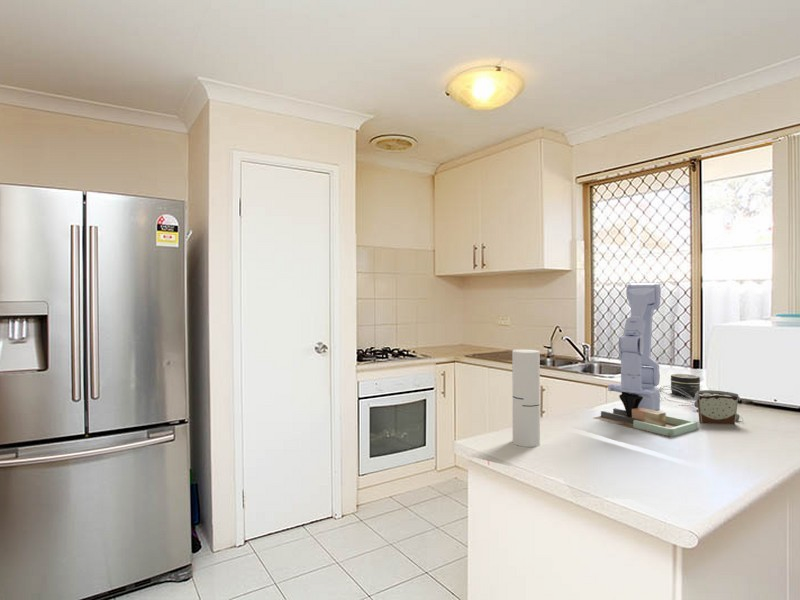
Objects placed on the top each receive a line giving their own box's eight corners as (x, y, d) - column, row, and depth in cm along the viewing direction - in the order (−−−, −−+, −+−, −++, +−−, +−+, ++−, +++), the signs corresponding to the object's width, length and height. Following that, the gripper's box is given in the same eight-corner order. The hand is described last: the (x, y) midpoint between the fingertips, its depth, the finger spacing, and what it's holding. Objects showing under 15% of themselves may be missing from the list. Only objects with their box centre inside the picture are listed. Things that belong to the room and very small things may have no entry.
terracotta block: (639, 420, 144) (639, 407, 144) (652, 423, 141) (652, 409, 141) (631, 421, 142) (631, 408, 142) (644, 424, 138) (644, 411, 138)
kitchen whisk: (735, 424, 144) (735, 403, 143) (653, 400, 176) (653, 384, 176) (751, 423, 145) (751, 402, 145) (666, 400, 178) (666, 383, 178)
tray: (659, 420, 144) (659, 413, 144) (697, 428, 134) (697, 422, 134) (633, 427, 136) (633, 420, 136) (671, 436, 127) (671, 429, 127)
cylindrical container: (519, 437, 131) (519, 348, 130) (544, 442, 126) (543, 350, 126) (508, 443, 125) (507, 351, 125) (533, 448, 121) (533, 353, 120)
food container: (727, 421, 145) (727, 390, 145) (740, 427, 139) (740, 394, 139) (686, 421, 146) (686, 389, 146) (696, 426, 140) (696, 393, 140)
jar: (705, 395, 183) (705, 376, 183) (691, 398, 178) (691, 378, 178) (679, 391, 191) (679, 372, 191) (665, 394, 186) (665, 375, 186)
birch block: (652, 423, 141) (652, 409, 141) (665, 426, 137) (665, 412, 137) (644, 424, 139) (644, 411, 139) (658, 428, 135) (658, 414, 135)
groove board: (622, 414, 155) (622, 406, 155) (699, 431, 135) (699, 423, 135) (592, 421, 147) (592, 413, 147) (669, 441, 126) (669, 432, 126)
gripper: (602, 372, 148) (602, 414, 148) (646, 378, 136) (646, 425, 136) (615, 370, 152) (615, 411, 152) (659, 376, 140) (659, 421, 140)
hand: (631, 417), depth 144 cm, fingers closed
